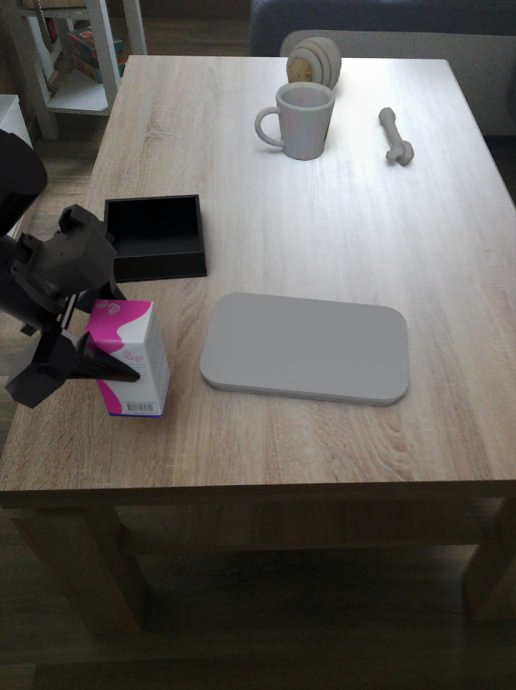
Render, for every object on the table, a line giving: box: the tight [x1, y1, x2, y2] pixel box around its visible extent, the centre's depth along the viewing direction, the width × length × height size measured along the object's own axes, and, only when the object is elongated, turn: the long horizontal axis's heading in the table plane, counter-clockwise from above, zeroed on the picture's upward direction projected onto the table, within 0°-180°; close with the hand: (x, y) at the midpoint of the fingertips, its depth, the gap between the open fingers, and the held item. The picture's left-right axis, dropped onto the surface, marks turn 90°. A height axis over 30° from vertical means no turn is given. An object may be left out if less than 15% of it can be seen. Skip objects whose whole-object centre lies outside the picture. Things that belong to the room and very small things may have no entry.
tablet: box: [198, 291, 409, 407], centre depth 73 cm, size 16×26×2 cm, turn 85°
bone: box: [378, 106, 415, 166], centre depth 106 cm, size 18×5×4 cm, turn 0°
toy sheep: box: [285, 36, 343, 92], centre depth 113 cm, size 11×17×11 cm, turn 150°
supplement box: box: [82, 299, 172, 419], centre depth 56 cm, size 6×6×12 cm
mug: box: [253, 82, 336, 161], centre depth 100 cm, size 10×15×10 cm
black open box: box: [102, 193, 208, 284], centre depth 84 cm, size 14×14×4 cm
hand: (143, 355), depth 55 cm, fingers closed on supplement box, 6 cm apart
